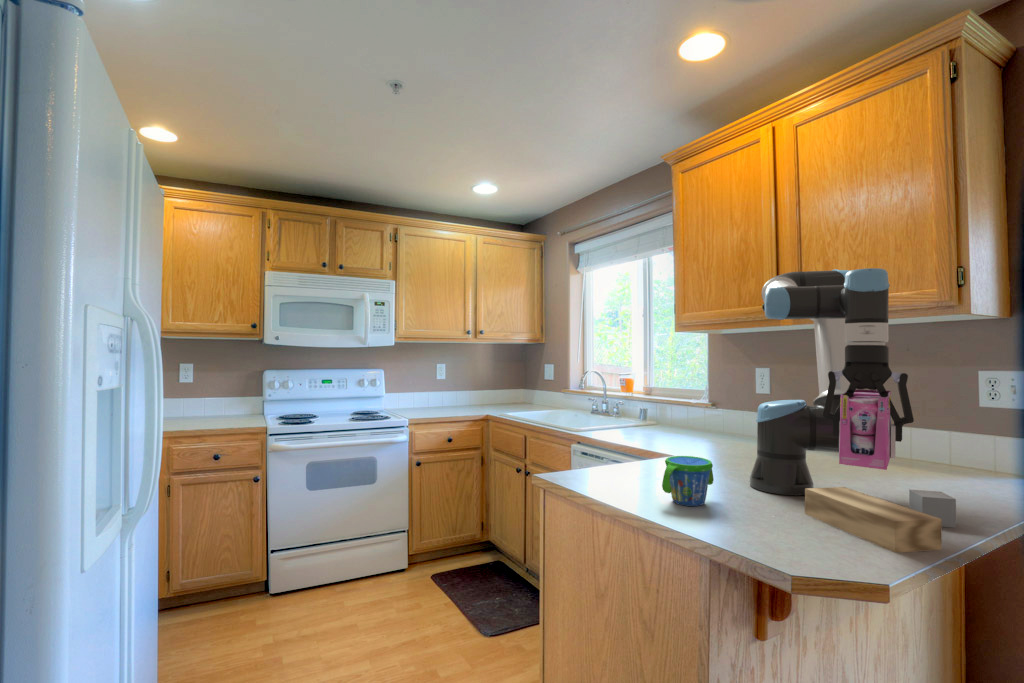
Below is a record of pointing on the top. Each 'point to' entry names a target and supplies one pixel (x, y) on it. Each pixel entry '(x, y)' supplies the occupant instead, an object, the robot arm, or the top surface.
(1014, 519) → the top surface
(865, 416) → the gum box
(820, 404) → the robot arm
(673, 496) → the snack cup
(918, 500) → the grey block
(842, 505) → the oak block
